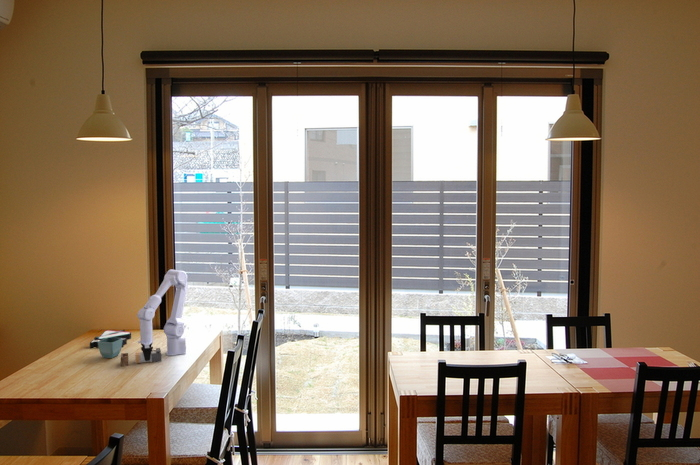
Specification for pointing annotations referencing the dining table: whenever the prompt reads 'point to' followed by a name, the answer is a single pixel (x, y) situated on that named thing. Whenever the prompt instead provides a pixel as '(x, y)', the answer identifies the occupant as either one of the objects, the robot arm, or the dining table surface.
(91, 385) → the dining table surface
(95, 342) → the decorative sign
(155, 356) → the sleeve
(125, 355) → the socket
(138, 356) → the tube
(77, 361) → the dining table surface
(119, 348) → the flower pot
